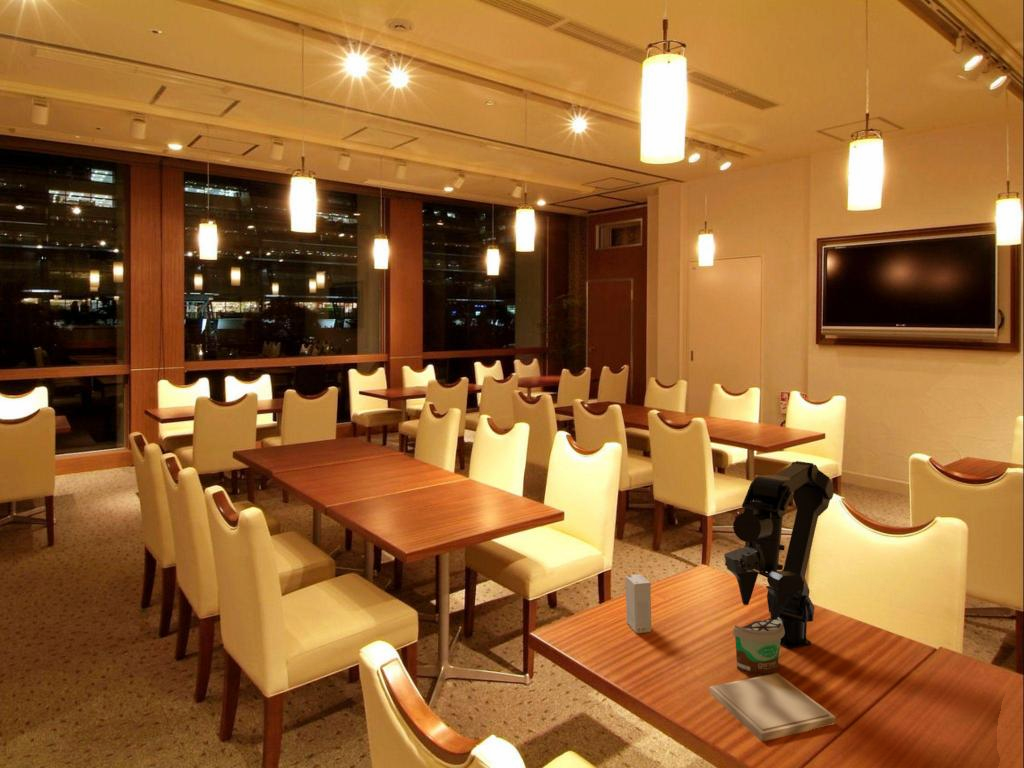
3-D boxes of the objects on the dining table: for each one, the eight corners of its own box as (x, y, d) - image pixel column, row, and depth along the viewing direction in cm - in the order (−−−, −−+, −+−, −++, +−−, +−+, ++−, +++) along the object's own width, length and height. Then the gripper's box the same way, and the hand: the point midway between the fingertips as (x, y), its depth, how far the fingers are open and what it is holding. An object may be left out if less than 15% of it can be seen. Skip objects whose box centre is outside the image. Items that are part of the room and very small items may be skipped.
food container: (754, 684, 136) (755, 637, 135) (731, 670, 142) (732, 625, 141) (796, 669, 142) (798, 624, 141) (773, 656, 147) (774, 612, 146)
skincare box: (652, 632, 159) (652, 582, 158) (634, 634, 158) (634, 584, 157) (641, 620, 165) (642, 573, 164) (624, 622, 164) (624, 574, 163)
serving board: (777, 682, 138) (777, 672, 138) (835, 727, 123) (835, 715, 122) (709, 695, 133) (709, 685, 133) (761, 744, 118) (761, 732, 118)
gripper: (707, 526, 147) (700, 597, 147) (762, 547, 129) (754, 628, 129) (750, 528, 150) (744, 598, 150) (809, 549, 133) (802, 628, 132)
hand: (759, 611), depth 140 cm, fingers open, 9 cm apart
